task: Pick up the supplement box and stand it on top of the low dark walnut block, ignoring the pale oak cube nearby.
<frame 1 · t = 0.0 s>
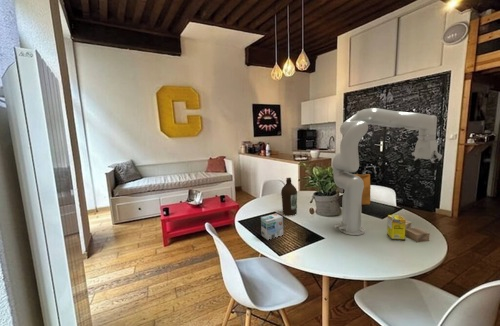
hand: (425, 168, 126), 31 cm above the table, fingers open, 9 cm apart
walnut block: (416, 238, 112), on the table
light bulb box: (272, 235, 123), on the table
oak cube: (403, 230, 121), on the table
supplement box: (395, 238, 113), on the table
coffee package: (360, 203, 167), on the table
olive oil: (289, 213, 153), on the table
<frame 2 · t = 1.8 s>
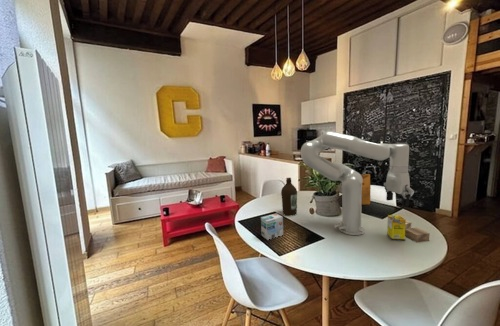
hand: (397, 203, 111), 18 cm above the table, fingers open, 9 cm apart
nothing on the table moved.
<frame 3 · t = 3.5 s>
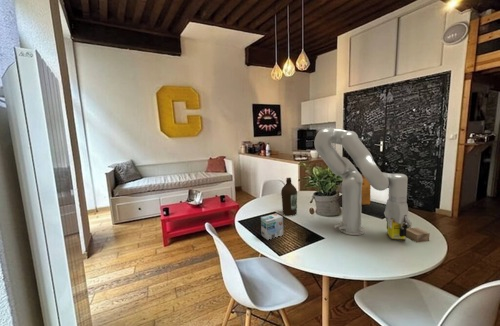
hand: (396, 232, 113), 3 cm above the table, fingers closed on supplement box, 7 cm apart
supplement box: (395, 238, 113), on the table, touching gripper
everything else where it was.
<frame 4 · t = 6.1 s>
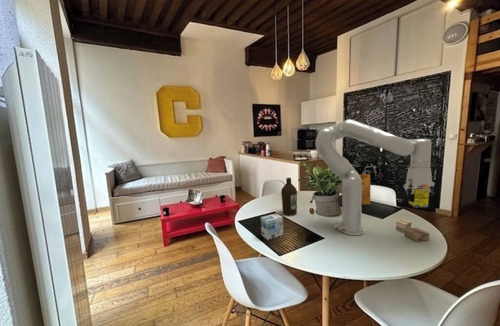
hand: (418, 200, 109), 20 cm above the table, fingers closed on supplement box, 7 cm apart
supplement box: (418, 206, 109), point 17 cm above the table, touching gripper
everything else where it was.
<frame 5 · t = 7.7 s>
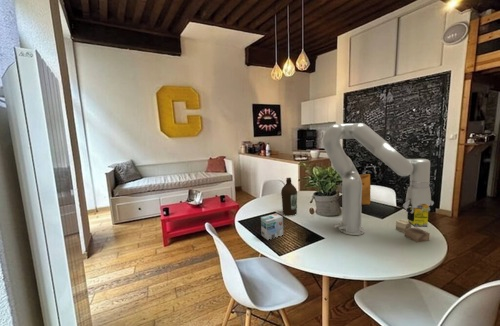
hand: (417, 219, 110), 10 cm above the table, fingers closed on supplement box, 7 cm apart
supplement box: (417, 225, 111), point 7 cm above the table, touching gripper
everything else where it was.
when the fingers open (8 cm above the table, at t = 8.8 s): supplement box stays where it is, point 4 cm above the table.
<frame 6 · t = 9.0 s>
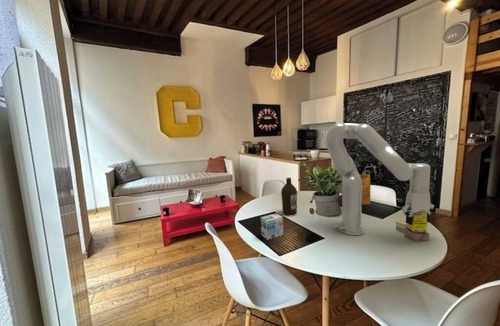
hand: (417, 222, 110), 8 cm above the table, fingers open, 9 cm apart
supplement box: (416, 231, 111), point 4 cm above the table
everything else where it was.
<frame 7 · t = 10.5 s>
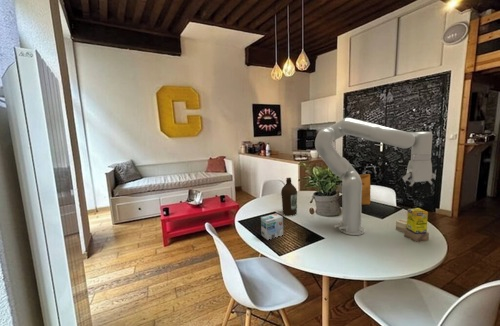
hand: (418, 192, 108), 24 cm above the table, fingers open, 9 cm apart
walnut block: (415, 238, 112), on the table, touching supplement box
supplement box: (416, 231, 111), point 4 cm above the table, touching walnut block
everything else where it was.
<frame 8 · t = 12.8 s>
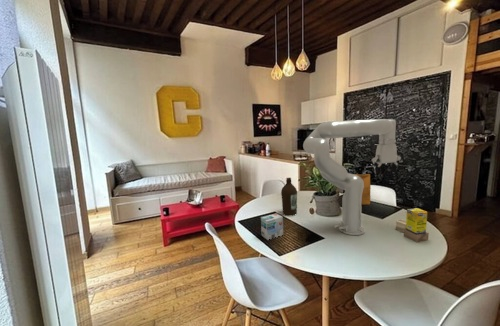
hand: (385, 173, 125), 30 cm above the table, fingers open, 9 cm apart
walnut block: (415, 238, 112), on the table
supplement box: (415, 231, 111), point 4 cm above the table
everything else where it was.
at the end: supplement box 0.6 cm off-centre on the walnut block, point 3.9 cm above the walnut block's base; supplement box tilted 1°; the gripper is holding nothing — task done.
